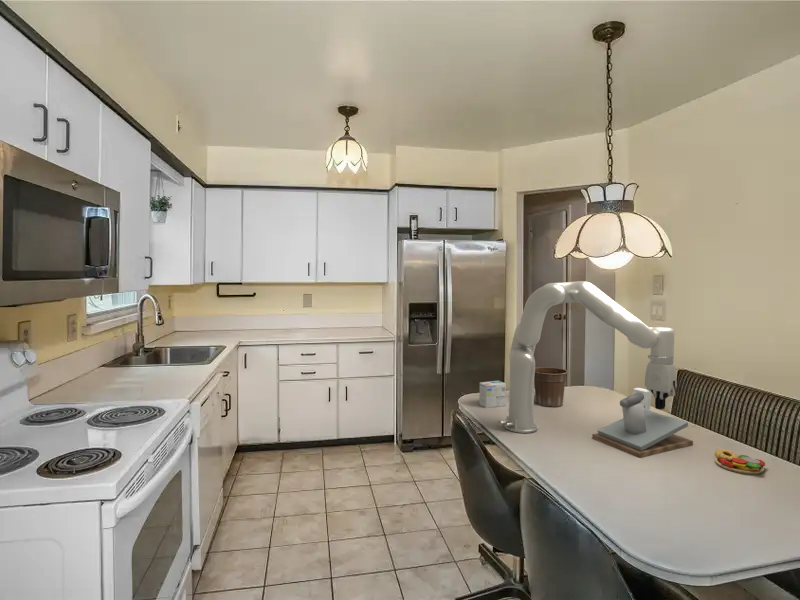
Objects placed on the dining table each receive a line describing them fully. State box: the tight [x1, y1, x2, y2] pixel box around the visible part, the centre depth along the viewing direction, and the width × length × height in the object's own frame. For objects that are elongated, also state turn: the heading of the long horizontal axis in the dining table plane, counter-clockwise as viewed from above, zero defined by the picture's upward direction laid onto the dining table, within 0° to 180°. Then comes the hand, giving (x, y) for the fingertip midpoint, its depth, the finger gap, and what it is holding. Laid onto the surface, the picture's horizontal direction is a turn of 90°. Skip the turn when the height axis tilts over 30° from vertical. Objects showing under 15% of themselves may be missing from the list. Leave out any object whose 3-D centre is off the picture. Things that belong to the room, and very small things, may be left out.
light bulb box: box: [479, 380, 507, 409], centre depth 214 cm, size 11×7×11 cm, turn 111°
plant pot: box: [534, 366, 569, 408], centre depth 217 cm, size 16×16×16 cm
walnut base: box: [591, 432, 694, 458], centre depth 169 cm, size 28×20×2 cm
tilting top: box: [597, 392, 689, 451], centre depth 168 cm, size 25×18×14 cm
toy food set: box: [714, 448, 766, 475], centre depth 147 cm, size 13×13×3 cm
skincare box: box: [632, 387, 652, 411], centre depth 197 cm, size 6×4×12 cm
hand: (659, 408), depth 172 cm, fingers closed
